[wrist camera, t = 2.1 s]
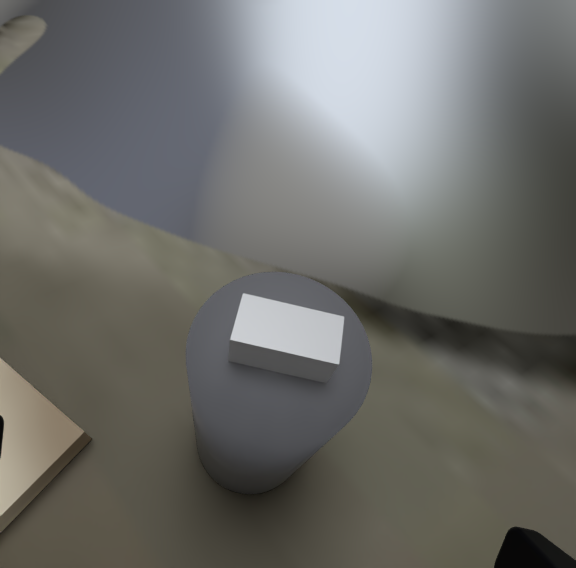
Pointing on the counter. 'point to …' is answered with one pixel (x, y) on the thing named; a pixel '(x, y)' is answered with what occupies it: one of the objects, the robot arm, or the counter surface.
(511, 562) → the robot arm
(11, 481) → the birch board
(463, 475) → the counter surface
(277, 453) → the white-capped grey cylinder
